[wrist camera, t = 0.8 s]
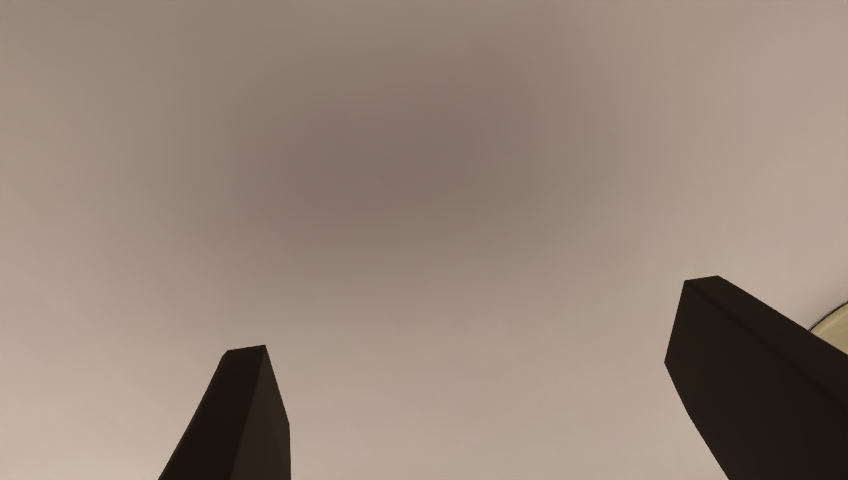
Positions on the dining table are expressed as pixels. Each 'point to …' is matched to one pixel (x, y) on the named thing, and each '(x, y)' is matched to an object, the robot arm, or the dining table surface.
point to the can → (834, 329)
